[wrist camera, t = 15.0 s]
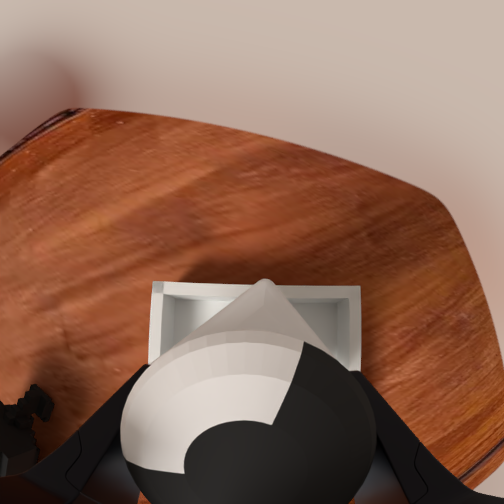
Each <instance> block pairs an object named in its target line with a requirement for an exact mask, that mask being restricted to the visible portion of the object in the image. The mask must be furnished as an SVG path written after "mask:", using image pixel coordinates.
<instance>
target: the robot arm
mask: <svg viewBox="0 0 504 504" xmlns="http://www.w3.org/2000/svg"><path fill="white" fill-rule="evenodd" d="M149 366H151V365H149V364H145V365H143V366H142V367H141V368H140V369H139V370H138V371H137V372H136V373H135V374H134V375H133V376H132V377H131V378H130V379H129V380H128V381H127V382H126V383H125V384H124V385H123V386H122V387H121V388H120V389H119V390H118V391H117V392H116V393H114V394H113V395H112V396H111V397H110V398H109V399H108V400H107V401H106V402H105V403H104V404H103V405H102V406H101V407H100V408H99V409H98V410H97V411H96V412H95V413H94V414H93V415H92V416H91V417H90V418H89V419H88V420H87V421H86V422H85V423H84V424H83V425H82V426H81V427H80V428H79V430H77V431H76V432H75V433H74V434H73V435H72V436H71V437H69V438H68V439H67V440H66V441H65V442H64V443H63V444H62V445H61V446H59V447H58V448H57V449H56V450H54V451H53V452H52V453H51V454H49V455H48V456H47V457H45V458H44V459H43V460H41V461H40V462H39V463H37V464H36V465H35V466H33V467H32V468H30V469H29V470H27V471H25V472H23V473H21V474H17V475H12V476H4V477H0V504H137V503H138V498H139V494H140V489H139V488H138V486H137V485H136V483H135V482H134V480H133V478H132V476H131V474H130V472H129V470H128V468H127V465H126V462H125V459H124V456H123V452H122V446H121V420H122V413H123V409H124V406H125V403H126V401H127V398H128V396H129V394H130V392H131V390H132V388H133V386H134V384H135V383H136V382H137V380H138V379H139V378H140V376H141V375H142V374H143V373H144V371H145V370H146V369H147V368H148V367H149ZM350 372H351V374H352V375H353V376H354V377H355V379H356V380H357V381H358V382H359V383H360V385H361V387H362V388H363V390H364V392H365V394H366V395H367V397H368V399H369V402H370V404H371V407H372V410H373V413H374V418H375V423H376V449H375V455H374V459H373V462H372V465H371V469H370V471H369V473H368V475H367V477H366V479H365V481H364V483H363V485H362V486H361V488H360V489H359V491H358V492H357V493H356V495H355V496H354V499H355V504H504V498H500V497H495V496H491V495H486V494H482V493H478V492H475V491H473V490H471V489H470V488H468V487H467V486H465V485H464V484H463V483H462V482H461V481H460V480H459V479H457V478H456V477H455V476H454V475H453V474H452V473H451V472H450V471H448V470H447V469H446V468H445V467H444V466H443V465H442V464H441V463H440V462H439V461H438V460H437V459H436V458H435V457H434V456H433V455H432V454H431V453H430V452H429V451H428V449H427V448H426V447H425V446H424V445H423V444H422V443H421V442H420V440H419V439H418V438H417V437H416V436H415V434H414V433H413V432H412V431H411V430H410V429H409V427H408V426H407V425H406V424H405V423H404V422H403V420H402V419H401V418H400V417H399V416H398V415H397V413H396V412H395V411H394V410H393V409H392V408H391V406H390V405H389V404H388V403H387V402H386V401H385V400H384V398H383V397H382V396H381V395H380V394H379V393H378V391H377V390H376V389H375V388H374V387H373V386H372V384H371V383H370V382H369V381H368V380H367V379H366V377H365V376H364V375H363V374H362V373H361V372H360V371H358V370H354V371H350Z"/></svg>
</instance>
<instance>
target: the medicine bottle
mask: <svg viewBox="0 0 504 504" xmlns="http://www.w3.org/2000/svg"><path fill="white" fill-rule="evenodd" d="M149 365H151V366H149V367H148V368H147V369H146V370H145V371H144V373H143V374H142V375H141V376H140V378H139V379H138V380H137V382H136V383H135V384H134V386H133V388H132V390H131V392H130V394H129V396H128V398H127V401H126V403H125V406H124V409H123V413H122V420H121V446H122V452H123V456H124V459H125V462H126V465H127V468H128V470H129V472H130V474H131V476H132V478H133V480H134V482H135V483H136V485H137V486H138V488H139V489H140V491H141V492H142V493H143V495H144V496H145V497H146V498H147V499H148V501H149V502H150V503H151V504H348V503H349V502H350V501H351V500H352V498H353V497H354V496H355V495H356V493H357V492H358V491H359V489H360V488H361V486H362V485H363V483H364V481H365V479H366V477H367V475H368V473H369V471H370V469H371V465H372V462H373V459H374V455H375V449H376V423H375V418H374V413H373V410H372V407H371V404H370V402H369V399H368V397H367V395H366V394H365V392H364V390H363V388H362V387H361V385H360V383H359V382H358V381H357V380H356V379H355V377H354V376H353V375H352V374H351V372H350V371H349V370H348V369H346V368H345V367H344V366H343V365H342V364H341V363H340V362H339V361H338V360H337V359H336V358H335V357H334V356H333V355H332V353H331V352H330V351H329V350H328V348H327V347H326V346H325V345H324V344H323V342H322V341H321V340H320V339H319V338H318V336H317V335H316V334H315V333H314V331H313V330H312V329H311V328H310V327H309V325H308V324H307V323H306V322H305V320H304V319H303V318H302V317H301V316H300V314H299V313H298V312H297V311H296V309H295V308H294V307H293V306H292V305H291V303H290V302H289V301H288V300H287V298H286V297H285V296H284V295H283V294H282V292H281V291H280V290H279V289H278V288H277V286H276V285H275V284H274V283H273V282H272V281H271V280H269V279H262V280H259V281H258V282H257V283H255V284H254V285H253V286H252V287H250V288H249V289H248V290H246V291H245V292H244V293H243V294H241V295H240V296H239V297H237V298H236V299H235V300H234V301H232V302H231V303H230V304H228V305H227V306H226V307H225V308H223V309H222V310H221V311H219V312H218V313H217V314H215V315H214V316H213V317H211V318H210V319H209V320H208V321H206V322H205V323H204V324H202V325H201V326H200V327H198V328H197V329H196V330H194V331H193V332H192V333H190V334H189V335H188V336H186V337H185V338H184V339H182V340H181V341H180V342H178V343H177V344H176V345H174V346H173V347H172V348H170V349H169V350H168V351H166V352H165V353H164V354H162V355H161V356H160V357H158V358H157V359H156V360H154V361H153V362H151V363H150V364H149ZM129 379H130V378H129Z"/></svg>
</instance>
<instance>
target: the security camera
mask: <svg viewBox="0 0 504 504" xmlns="http://www.w3.org/2000/svg"><path fill="white" fill-rule="evenodd" d="M51 400H52V399H51V398H50V397H49V396H48V395H46V394H45V393H44V392H43V391H42V390H41V389H40V388H39V387H38V386H37V384H32V385H31V386H30V390H29V391H26V392H25V396H24V398H19V399H18V402H17V405H16V404H13V405H10V404H9V405H4V404H3V403H2V402H1V401H0V477H4V476H12V475H17V474H21V473H23V472H25V471H27V470H29V469H30V468H32V467H33V466H35V465H36V463H37V459H38V455H39V452H40V449H39V448H37V447H36V446H35V442H36V439H35V438H34V435H35V432H34V431H33V430H32V429H31V428H32V424H33V421H34V418H33V417H32V416H31V414H33V413H35V414H36V415H37V416H38V417H39V418H40V419H41V420H42V421H43V422H47V421H49V419H50V416H51V413H52V410H53V407H54V403H52V402H51Z"/></svg>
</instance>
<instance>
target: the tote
mask: <svg viewBox="0 0 504 504" xmlns="http://www.w3.org/2000/svg"><path fill="white" fill-rule="evenodd" d="M252 286H253V285H238V284H207V283H182V282H161V281H153V286H152V298H151V313H150V330H149V357H148V364H150V363H151V362H153V361H154V360H156V359H157V358H158V357H160V356H161V355H162V354H164V353H165V352H166V351H168V350H169V349H170V348H172V347H173V346H174V345H176V344H177V343H178V342H180V341H181V340H182V339H184V338H185V337H186V336H188V335H189V334H190V333H192V332H193V331H194V330H196V329H197V328H198V327H200V326H201V325H202V324H204V323H205V322H206V321H208V320H209V319H210V318H211V317H213V316H214V315H215V314H217V313H218V312H219V311H221V310H222V309H223V308H225V307H226V306H227V305H228V304H230V303H231V302H232V301H234V300H235V299H236V298H237V297H239V296H240V295H241V294H243V293H244V292H245V291H246V290H248V289H249V288H250V287H252ZM276 286H277V288H278V289H279V290H280V291H281V292H282V294H283V295H284V296H285V297H286V298H287V300H288V301H289V302H290V303H291V305H292V306H293V307H294V308H295V309H296V311H297V312H298V313H299V314H300V316H301V317H302V318H303V319H304V320H305V322H306V323H307V324H308V325H309V327H310V328H311V329H312V330H313V331H314V333H315V334H316V335H317V336H318V338H319V339H320V340H321V341H322V342H323V344H324V345H325V346H326V347H327V348H328V350H329V351H330V352H331V353H332V355H333V356H334V357H335V358H336V359H337V360H338V361H339V362H340V363H341V364H342V365H343V366H344V367H345V368H346V369H348V370H349V371H354V370H358V371H360V370H361V289H360V286H285V285H276Z"/></svg>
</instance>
